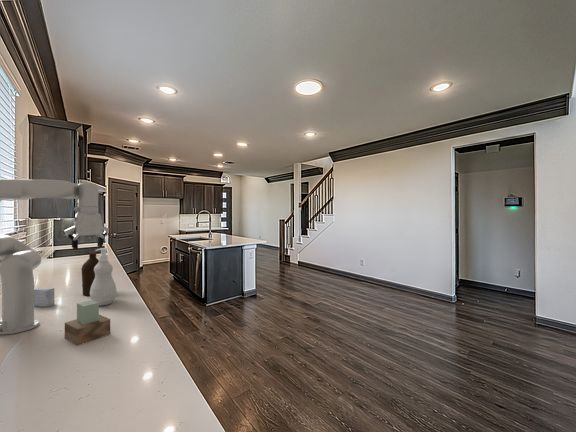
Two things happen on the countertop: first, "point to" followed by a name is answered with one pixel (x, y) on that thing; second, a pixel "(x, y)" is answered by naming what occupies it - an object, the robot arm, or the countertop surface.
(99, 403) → the countertop surface
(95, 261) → the olive oil
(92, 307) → the sage block
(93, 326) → the walnut riser
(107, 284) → the white vase
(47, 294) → the medicine box
